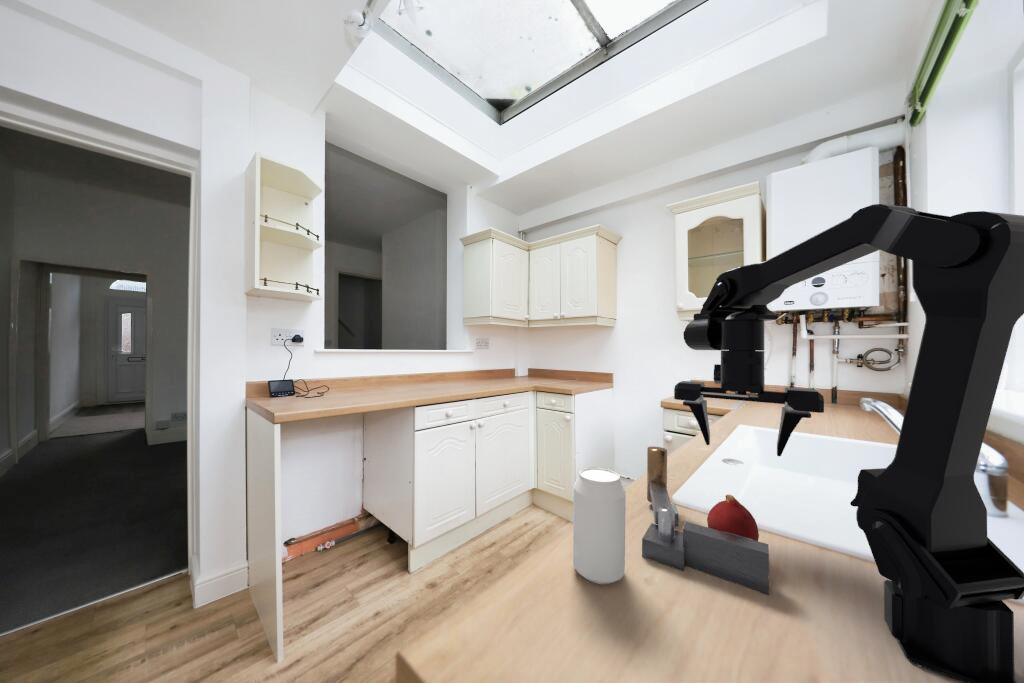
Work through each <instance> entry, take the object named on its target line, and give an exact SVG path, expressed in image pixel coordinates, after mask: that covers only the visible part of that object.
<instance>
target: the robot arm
mask: <svg viewBox="0 0 1024 683" xmlns="http://www.w3.org/2000/svg"><path fill="white" fill-rule="evenodd" d="M878 251H882V252H884V253H887V254H890V255H893V256H897V257H900V258H904V259H906V260H910V261H911V263H912V264H911V265H912V266H911V270H912V271H911V274H912V276H911V277H912V278H911V279H912V283H911V284H912V289H913V291H914V293H915V294H916V295H915V296H916V298H917V300H918V302H919V304H920V307H921V308H922V311H923V313H924V316H925V324H924V327H923V331H922V336H921V340H920V345H919V349H918V353H917V357H916V358H917V359H916V362H915V366H914V371H913V376H912V378H911V379H912V380H911V384H910V389H909V393H908V398H907V401H906V406H905V410H904V414H903V419H902V423H901V427H900V433H899V437H898V441H897V445H896V449H895V450H896V451H895V454H894V458H893V459H892V462H891V463H890V464H888V466H886V467H885V468H884V467H883V468H866V469H865V468H863V469H860V470H859V473H858V476H857V492H856V494H855V497H854V498H853V499H852V500H851V501H850V503H849V504H850V506H851V507H857V508H856V512H855V513H856V514H855V515H856V516H855V517H856V519H855V520H856V522H857V523H856V524H857V526H858V528H859V529H860V530H862V531H863V533H864V535H865V537H866V541H867V544H868V546H869V548H870V552H871V554H872V556H873V560H874V562H875V564H876V568H877V571H878V572H879V575H881V576H882V577H884V578H885V580H884V581H883V595H884V596H883V605H884V607H883V609H884V610H883V614H884V615H883V620H884V621H885V623H886V626H887V628H888V630H889V632H890V634H891V636H892V637H893V638H894V639H895V640H897V643H898V644H899V646H900V648H901V650H902V653H903V655H904V656H905V658H906V659H907V660H909V661H910V662H911V663H914V664H916V665H919V666H921V667H924V668H927V669H928V670H933V671H935V672H938V673H941V674H944V675H946V676H948V677H951V678H955V679H956V680H959V681H962V682H965V683H1018V682H1017V681H1016V679H1015V630H1014V629H1015V621H1014V611H1013V610H1012V609H1011V607H1009V606H1008V605H1007V604H1006V603H1005V602H1004V601H1005V600H1016V601H1017V600H1022V599H1023V598H1024V572H1023V570H1022V569H1020V568H1019V566H1018V565H1017V564H1016V563H1014V562H1013V560H1012V559H1010V557H1008V556H1007V554H1005V553H1004V552H1003V551H1002V549H1001V548H999V547H998V546H997V545H996V544H995V543H994V542H993V541H992V539H990V538H989V537H988V510H987V507H986V505H985V503H984V500H983V499H982V496H981V493H980V492H979V489H978V488H977V484H976V482H975V471H976V467H977V464H978V460H979V456H980V454H981V451H982V450H981V449H982V447H983V446H982V445H983V443H984V442H983V441H984V438H985V436H986V435H985V434H986V431H987V428H988V423H989V420H990V416H991V412H992V409H993V408H992V407H993V404H994V400H995V397H996V395H997V389H998V386H999V383H1000V379H1001V375H1002V371H1003V367H1004V363H1005V360H1006V355H1007V352H1008V348H1009V346H1010V341H1011V337H1012V333H1013V330H1014V327H1015V325H1016V323H1017V321H1018V320H1019V319H1020V318H1021V317H1022V316H1023V315H1024V215H1021V214H1012V213H1002V212H994V211H984V210H983V211H980V210H979V211H965V212H962V213H958V214H953V215H952V216H950V215H949V216H948V215H942V214H937V213H930V212H924V211H919V210H916V209H915V208H913V207H909V206H902V205H901V206H900V205H894V204H884V203H878V204H877V203H876V204H874V203H873V204H870V205H868V206H865V207H863V208H860V209H858V210H857V211H856V212H854V213H852V215H851V216H850V217H848V218H846V219H844V220H843V221H841V222H838V223H837V224H835V225H833V226H831V227H829V228H827V229H825V230H823V231H822V232H819V233H817V234H815V235H814V236H811V237H810V238H808V239H806V240H804V241H802V242H800V243H798V244H796V245H794V246H792V247H790V248H788V249H787V250H784V251H783V252H781V253H779V254H777V255H775V256H772V257H771V258H768V259H766V260H764V261H761V262H758V263H752V264H747V265H741V266H739V267H734V268H732V269H728V270H726V271H724V272H722V273H721V274H719V275H718V276H717V278H716V279H715V280H716V281H715V282H714V284H713V286H712V288H711V290H710V292H709V294H708V296H707V298H706V300H705V301H704V302H703V304H702V308H701V310H700V312H699V313H694V314H693V320H691V321H690V322H688V323H687V325H686V326H685V328H684V331H683V340H684V343H685V344H686V346H687V347H688V348H690V349H692V350H694V351H720V364H719V363H718V364H714V367H713V383H714V384H718V385H720V387H717V386H716V387H715V386H714V387H713V386H705V381H704V382H703V381H690V380H689V381H688V380H687V381H686V380H682V381H680V382H678V383H677V384H675V385H674V389H673V390H674V391H673V392H674V396H673V397H674V400H678V401H683V402H682V405H683V406H687V407H689V408H690V410H691V411H690V412H692V414H693V416H694V418H695V420H696V421H697V424H698V427H699V429H700V432H701V434H702V437H703V438H704V439H703V440H704V442H705V445H706V446H710V444H711V432H710V426H709V425H710V422H709V414H708V403H707V402H708V400H706V399H705V398H707V399H719V400H732V401H743V402H752V403H753V402H756V403H766V404H780V405H783V406H782V407H781V415H780V424H779V428H778V433H777V434H778V435H777V440H776V441H777V442H776V455H777V457H781V456H782V454H783V452H784V450H785V448H786V446H787V444H788V441H789V439H790V437H791V435H792V433H793V432H794V430H795V429H796V427H798V424H799V423H800V421H801V420H802V419H803V418H804V419H805V418H806V419H811V418H812V413H825V401H824V395H823V394H821V393H820V392H819V391H817V390H816V389H814V388H800V387H787V386H785V387H784V391H774V390H773V391H772V390H765V322H767V321H776V320H778V319H779V315H778V314H777V313H775V312H774V311H771V310H770V309H769V308H768V306H767V305H769V304H770V303H772V302H774V301H775V300H777V299H778V298H780V297H781V296H782V295H783V293H784V292H785V291H786V290H787V289H789V288H790V287H791V286H794V285H796V284H798V283H801V282H803V281H806V280H808V279H811V278H813V277H816V276H818V275H820V274H823V273H826V272H828V271H830V270H833V269H835V268H838V267H840V266H842V265H845V264H848V263H850V262H853V261H855V260H858V259H860V258H863V257H865V256H867V255H870V254H872V253H876V252H878ZM729 392H731V393H729ZM732 392H733V393H732Z"/></svg>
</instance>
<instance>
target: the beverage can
mask: <svg viewBox="0 0 1024 683" xmlns="http://www.w3.org/2000/svg"><path fill="white" fill-rule="evenodd" d="M578 475H579V476H578V477H577V478H576V480H575V483H574V484H573V506H572V507H573V508H572V509H573V515H572V517H573V519H572V520H573V521H572V522H573V523H572V524H573V526H572V531H573V532H572V533H573V534H572V562H573V563H572V564H573V567H574V569H575V571H576V572H577V573H578V574H579V575H580V576H582V577H583V578H585V580H588V582H592V583H594V584H598V585H609V584H612V583H615V582H617V581H619V580H620V579H622V578H623V576H624V575H625V569H626V567H625V566H626V501H627V500H626V498H627V497H626V496H627V495H626V494H627V493H626V492H627V491H626V490H625V488H624V485H623V484H622V481H621V476H620V474H619V473H618V472H616V471H614V470H612V469H608V468H604V467H585V468H583V469H580V470H579V472H578Z"/></svg>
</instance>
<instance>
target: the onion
mask: <svg viewBox="0 0 1024 683" xmlns="http://www.w3.org/2000/svg"><path fill="white" fill-rule="evenodd" d="M706 522H707V527H708V528H712V529H715V530H719V531H722V532H728V533H732V534H735V535H739V536H742V537H746V538H750V539H753V540H755V541H758V542H759V538H760V534H759V528H758V525H757V522H756V519H755V517H754V516H753V515H752V513H751V512H750V511H749V509H747V508H746V507H745V506H744V505H743V504H742V503H740V502H739V500H737V499H736V497H735V496H734V495H732V494H726V495H725V499H724V500H722V501H719V502H717V503H715V505H714V506H713V507H711V508H710V510H709V512H708V514H707V518H706Z"/></svg>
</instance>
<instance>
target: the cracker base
mask: <svg viewBox="0 0 1024 683" xmlns="http://www.w3.org/2000/svg"><path fill="white" fill-rule="evenodd" d="M675 527H676V526H675V510H674V509H673V508H670V507H667V506H660V507H659V516H658V524H655V523H654V522H652V523H651V524H650V525H649V526H648V528H647V530H646V531H645V534H644V535H643V536H642V538H641V542H642V543H641V557H642V558H644V559H647V560H650V561H653V562H655V563H657V564H658V563H659V564H662V565H664V566H666V567H667V566H668V567H670V568H672V569H675V570H678V571H681V572H685V569H686V567H687V568H689V569H692V570H695V571H698V572H701V573H703V574H704V573H705V574H707V575H710V576H711V577H715V578H719V579H721V580H724V581H727V582H729V583H734V584H735V585H739V586H741V587H744V588H747V589H750V590H753V591H756V592H759V593H761V594H764V595H767V596H770V549H769V543H765V542H761V541H759V540H758V541H755V540H753V539H750V538H746V537H742V536H739V535H735V534H732V533H728V532H722V531H719V530H715V529H712V528H708V526H705V525H701V524H697V523H694V522H690V521H685V523H684V526H683V529H682V531H678V530H676V528H675Z"/></svg>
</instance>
